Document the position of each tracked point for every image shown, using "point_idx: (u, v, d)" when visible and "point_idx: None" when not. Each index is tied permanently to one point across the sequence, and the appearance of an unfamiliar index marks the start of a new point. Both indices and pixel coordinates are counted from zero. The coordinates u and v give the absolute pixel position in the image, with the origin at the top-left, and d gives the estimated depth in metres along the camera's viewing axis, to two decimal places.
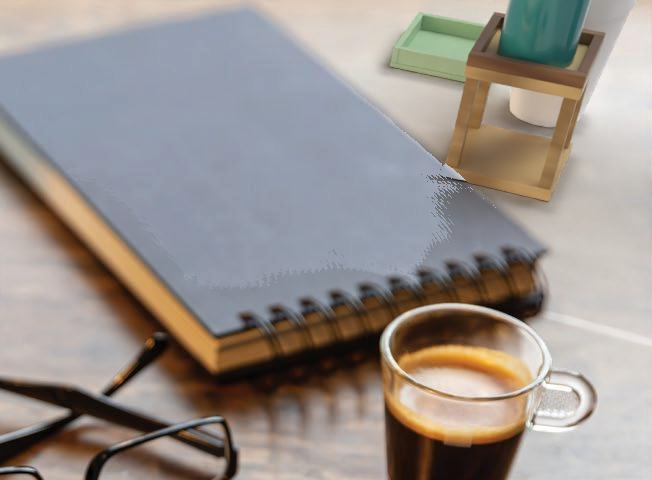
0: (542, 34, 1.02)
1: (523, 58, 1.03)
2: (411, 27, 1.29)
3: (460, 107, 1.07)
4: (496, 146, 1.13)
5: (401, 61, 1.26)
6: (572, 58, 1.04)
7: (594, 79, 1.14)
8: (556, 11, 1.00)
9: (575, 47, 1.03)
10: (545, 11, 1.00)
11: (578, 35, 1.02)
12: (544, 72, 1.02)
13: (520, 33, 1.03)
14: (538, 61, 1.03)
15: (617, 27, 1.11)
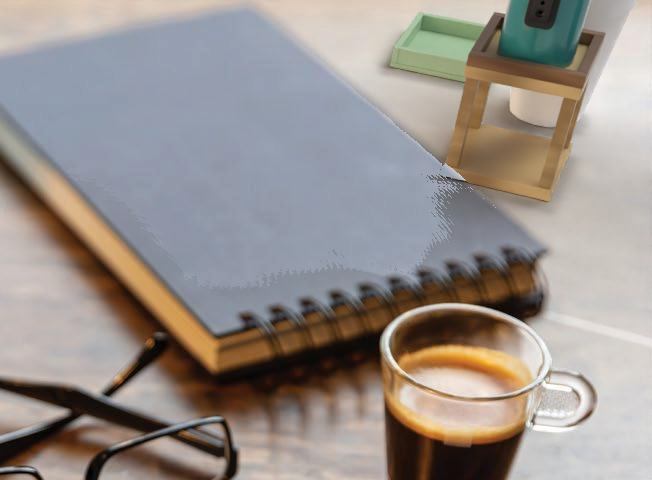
0: (542, 34, 1.02)
1: (523, 58, 1.03)
2: (411, 27, 1.29)
3: (460, 107, 1.07)
4: (496, 146, 1.13)
5: (401, 61, 1.26)
6: (572, 58, 1.04)
7: (594, 79, 1.14)
8: None
9: (575, 47, 1.03)
10: None
11: (578, 35, 1.02)
12: (544, 72, 1.02)
13: (520, 33, 1.03)
14: (538, 61, 1.03)
15: (617, 27, 1.11)
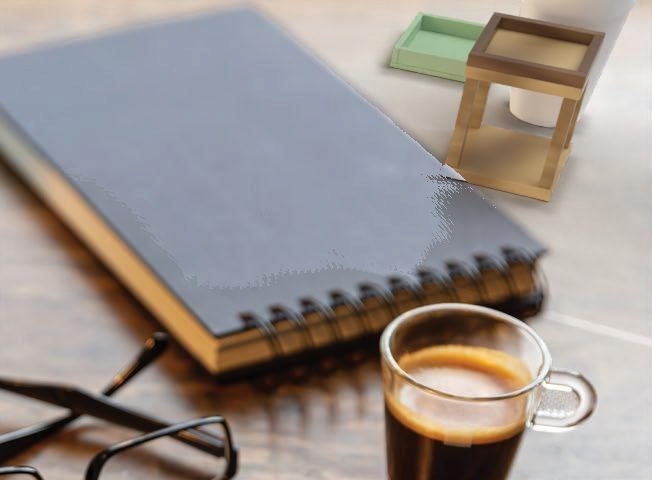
0: None
1: None
2: (411, 27, 1.29)
3: (460, 107, 1.07)
4: (496, 146, 1.13)
5: (401, 61, 1.26)
6: None
7: (594, 79, 1.14)
8: None
9: None
10: None
11: None
12: (544, 72, 1.02)
13: None
14: None
15: (617, 27, 1.11)
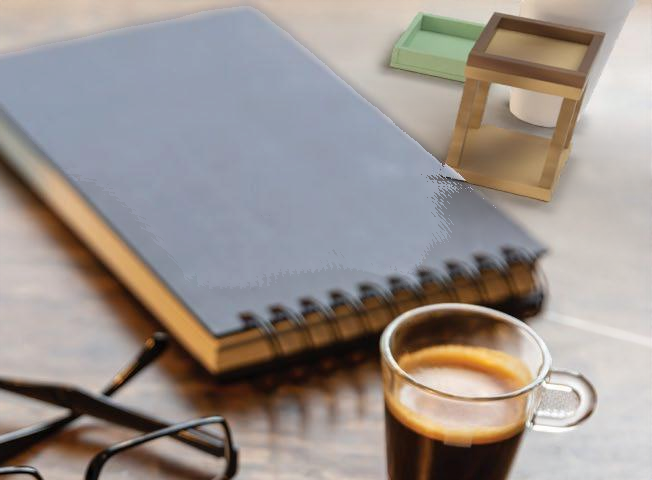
0: None
1: None
2: (411, 27, 1.29)
3: (460, 107, 1.07)
4: (496, 146, 1.13)
5: (401, 61, 1.26)
6: None
7: (594, 79, 1.14)
8: None
9: None
10: None
11: None
12: (544, 72, 1.02)
13: None
14: None
15: (617, 27, 1.11)
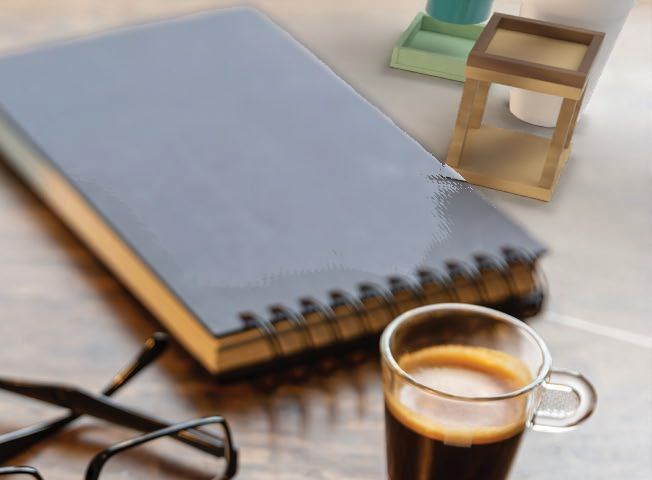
0: None
1: (446, 14, 1.23)
2: (411, 27, 1.29)
3: (460, 107, 1.07)
4: (496, 146, 1.13)
5: (401, 61, 1.26)
6: (487, 14, 1.23)
7: (594, 79, 1.14)
8: None
9: (489, 5, 1.22)
10: None
11: None
12: (544, 72, 1.02)
13: None
14: (458, 16, 1.22)
15: (617, 27, 1.11)
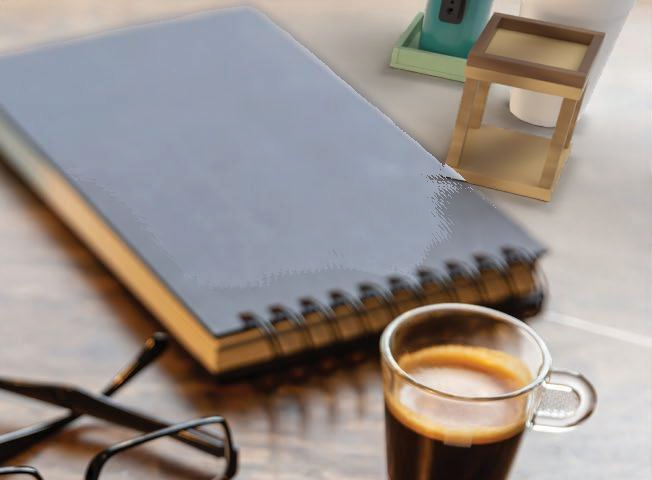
0: (452, 36, 1.24)
1: None
2: (411, 27, 1.29)
3: (460, 107, 1.07)
4: (496, 146, 1.13)
5: (401, 61, 1.26)
6: None
7: (594, 79, 1.14)
8: None
9: None
10: None
11: None
12: (544, 72, 1.02)
13: (434, 35, 1.24)
14: None
15: (617, 27, 1.11)
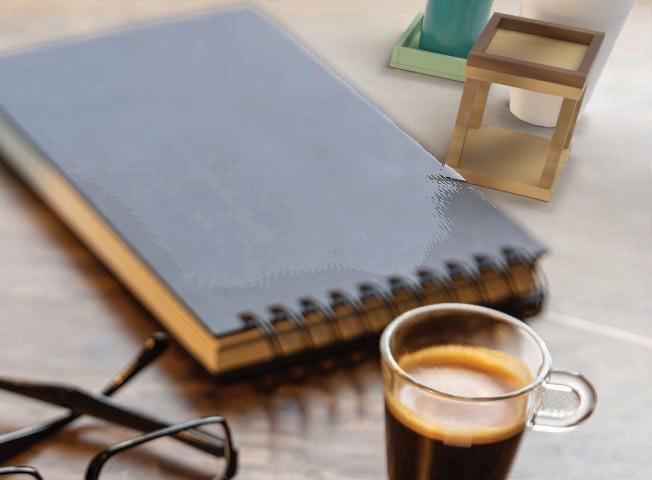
0: (452, 36, 1.24)
1: None
2: (411, 27, 1.29)
3: (460, 107, 1.07)
4: (496, 146, 1.13)
5: (401, 61, 1.26)
6: None
7: (594, 79, 1.14)
8: (461, 17, 1.22)
9: None
10: (453, 17, 1.22)
11: None
12: (544, 72, 1.02)
13: (434, 35, 1.24)
14: None
15: (617, 27, 1.11)
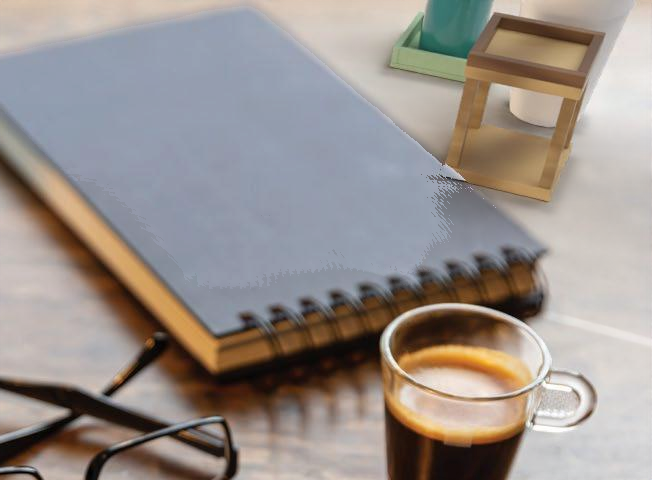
0: (452, 36, 1.24)
1: None
2: (411, 27, 1.29)
3: (460, 107, 1.07)
4: (496, 146, 1.13)
5: (401, 61, 1.26)
6: None
7: (594, 79, 1.14)
8: (461, 17, 1.22)
9: None
10: (453, 17, 1.22)
11: None
12: (544, 72, 1.02)
13: (434, 35, 1.24)
14: None
15: (617, 27, 1.11)
